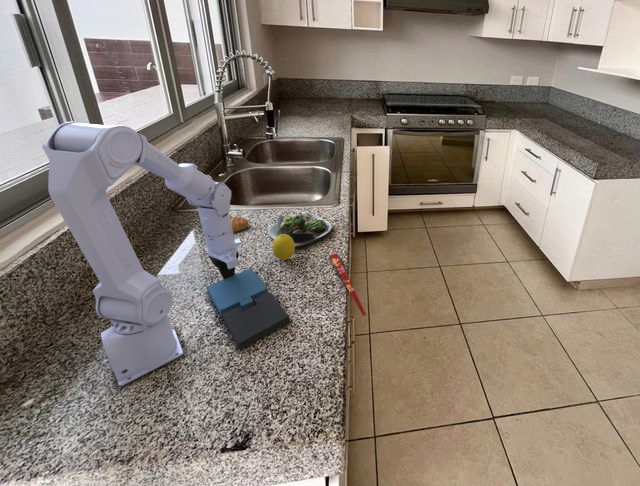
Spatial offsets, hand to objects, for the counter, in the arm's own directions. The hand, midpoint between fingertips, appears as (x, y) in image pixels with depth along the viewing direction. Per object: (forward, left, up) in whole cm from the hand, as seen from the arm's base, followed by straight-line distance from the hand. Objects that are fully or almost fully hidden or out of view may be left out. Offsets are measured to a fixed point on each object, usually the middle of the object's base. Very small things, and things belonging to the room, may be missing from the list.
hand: (228, 278), depth 84 cm
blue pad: (0, -6, -1) cm, 6 cm away
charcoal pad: (0, -17, -1) cm, 17 cm away
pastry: (+8, +26, -1) cm, 27 cm away
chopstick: (+21, -20, -1) cm, 29 cm away
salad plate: (+23, +8, -1) cm, 24 cm away
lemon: (+14, -1, -1) cm, 14 cm away
